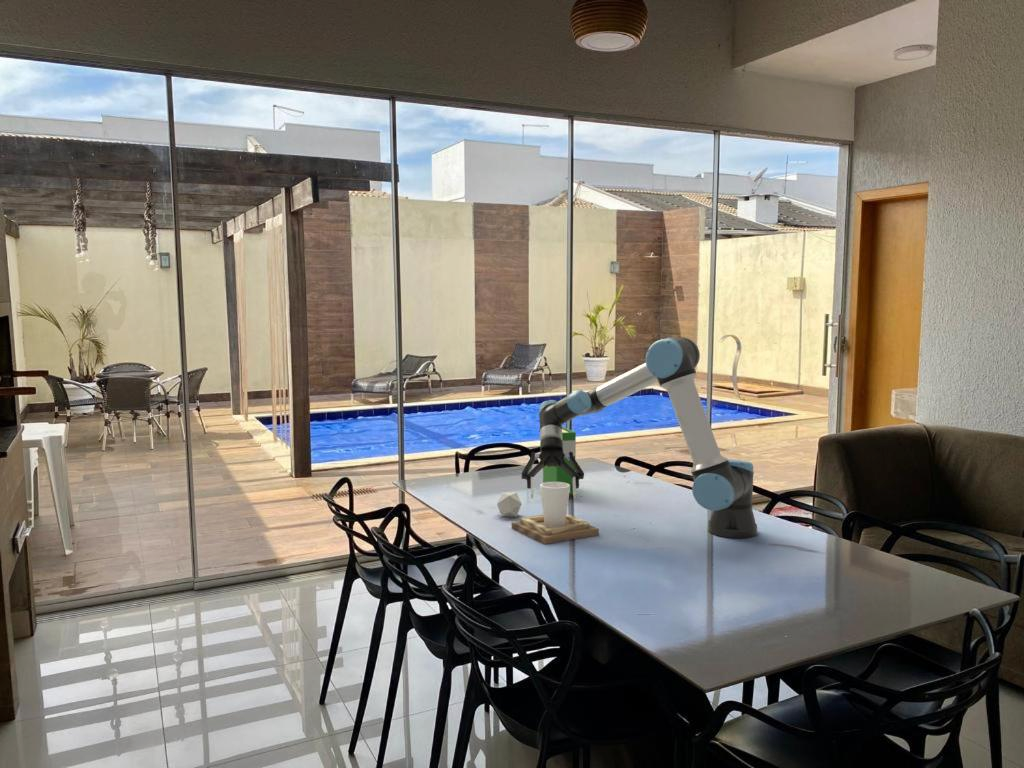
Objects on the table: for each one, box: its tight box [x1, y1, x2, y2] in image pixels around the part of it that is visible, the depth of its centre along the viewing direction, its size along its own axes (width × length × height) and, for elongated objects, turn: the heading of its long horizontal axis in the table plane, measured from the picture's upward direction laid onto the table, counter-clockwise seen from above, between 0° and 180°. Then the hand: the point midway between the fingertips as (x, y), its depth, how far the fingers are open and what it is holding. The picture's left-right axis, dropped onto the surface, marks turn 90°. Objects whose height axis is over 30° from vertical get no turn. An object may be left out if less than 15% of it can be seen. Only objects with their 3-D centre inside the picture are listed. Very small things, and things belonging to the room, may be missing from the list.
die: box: [496, 492, 522, 518], centre depth 274 cm, size 8×9×10 cm
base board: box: [511, 513, 600, 545], centre depth 254 cm, size 20×20×4 cm
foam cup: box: [539, 482, 570, 527], centre depth 254 cm, size 10×9×13 cm
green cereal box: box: [542, 425, 577, 496], centre depth 310 cm, size 18×7×24 cm, turn 14°
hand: (553, 496), depth 255 cm, fingers open, 13 cm apart
